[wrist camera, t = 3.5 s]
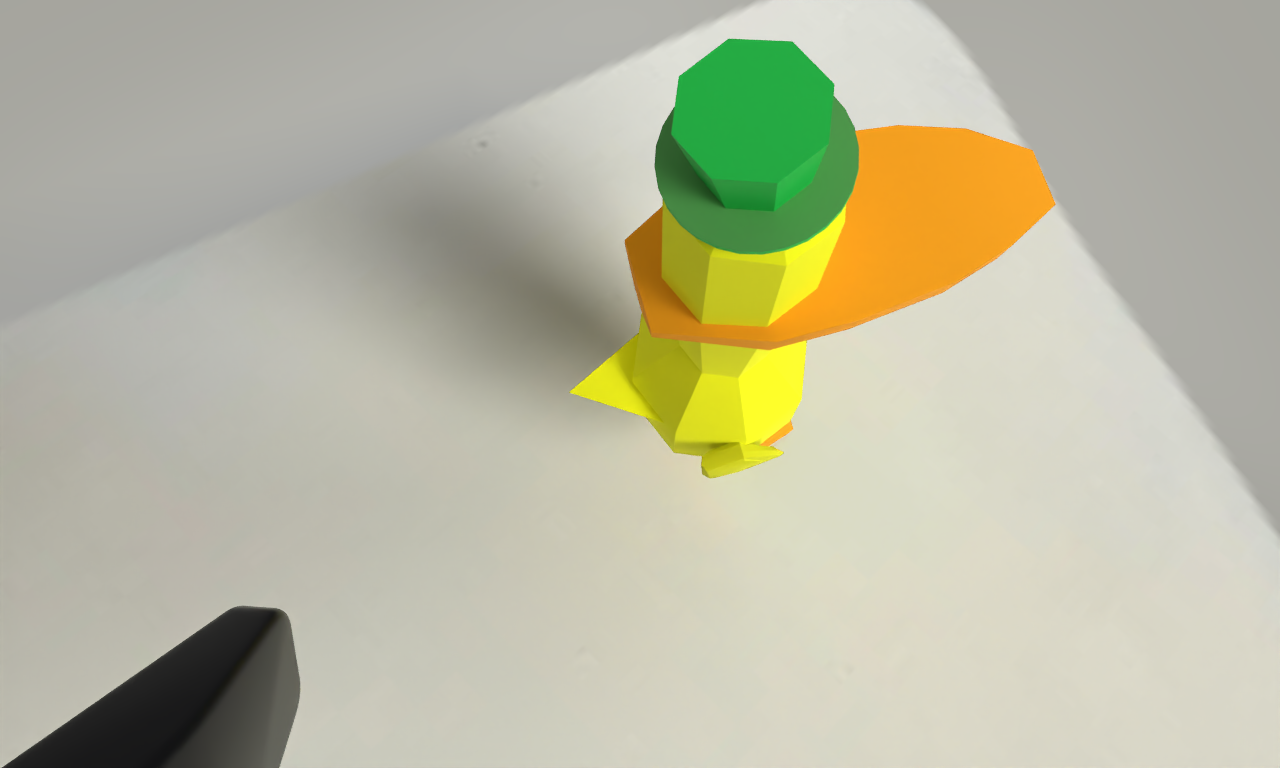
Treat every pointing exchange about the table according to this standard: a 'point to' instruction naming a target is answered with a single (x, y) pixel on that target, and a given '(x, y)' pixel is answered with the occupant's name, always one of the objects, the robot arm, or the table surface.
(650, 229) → the toy figure
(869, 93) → the table surface
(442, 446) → the table surface
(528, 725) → the table surface
